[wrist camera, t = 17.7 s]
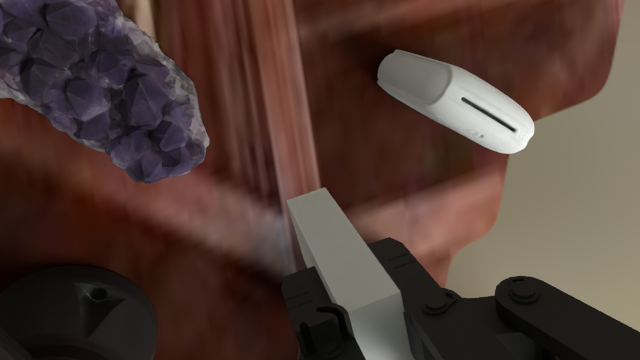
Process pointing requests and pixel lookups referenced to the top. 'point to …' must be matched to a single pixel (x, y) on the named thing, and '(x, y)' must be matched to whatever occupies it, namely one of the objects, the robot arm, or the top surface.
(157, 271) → the top surface
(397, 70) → the white slotted device
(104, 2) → the geode
